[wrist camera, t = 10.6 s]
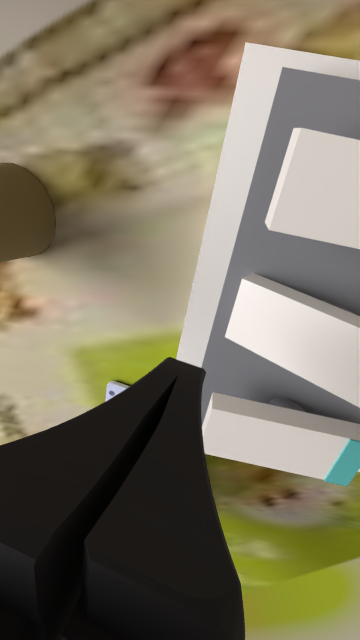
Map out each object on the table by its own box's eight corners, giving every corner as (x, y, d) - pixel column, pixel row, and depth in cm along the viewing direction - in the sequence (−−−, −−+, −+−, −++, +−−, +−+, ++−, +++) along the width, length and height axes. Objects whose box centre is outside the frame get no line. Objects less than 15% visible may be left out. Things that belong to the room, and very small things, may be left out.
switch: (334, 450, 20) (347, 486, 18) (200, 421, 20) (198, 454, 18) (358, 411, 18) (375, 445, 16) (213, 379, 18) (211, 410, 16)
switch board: (423, 484, 23) (442, 535, 20) (170, 393, 26) (154, 425, 23) (733, 128, 12) (874, 122, 9) (248, 48, 15) (237, 24, 12)
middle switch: (402, 400, 15) (397, 428, 13) (244, 322, 19) (223, 337, 17) (443, 340, 13) (442, 364, 12) (261, 268, 17) (241, 278, 15)
